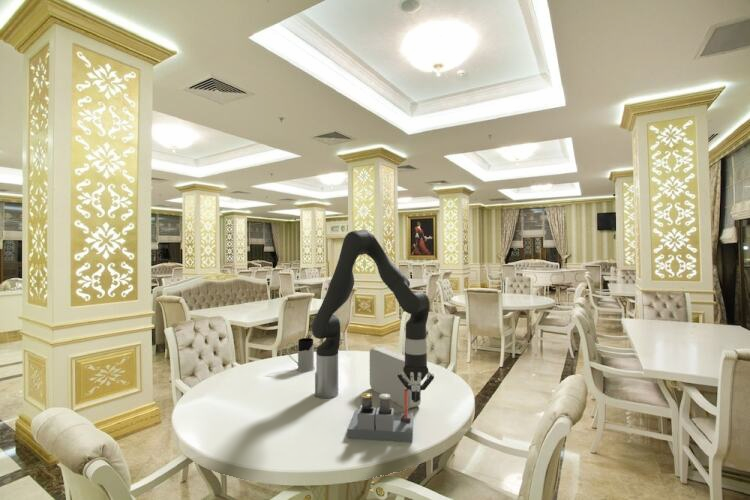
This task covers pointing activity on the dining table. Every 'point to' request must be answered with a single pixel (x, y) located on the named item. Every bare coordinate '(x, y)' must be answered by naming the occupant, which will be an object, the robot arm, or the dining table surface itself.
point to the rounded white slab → (389, 375)
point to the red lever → (406, 407)
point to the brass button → (366, 402)
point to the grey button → (385, 403)
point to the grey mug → (305, 354)
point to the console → (380, 426)
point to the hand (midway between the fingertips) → (415, 401)
